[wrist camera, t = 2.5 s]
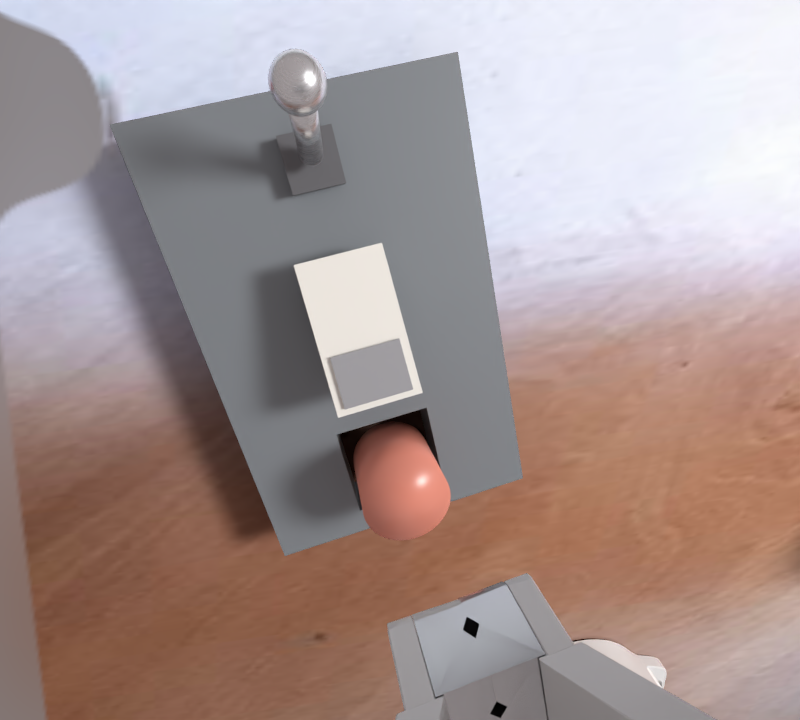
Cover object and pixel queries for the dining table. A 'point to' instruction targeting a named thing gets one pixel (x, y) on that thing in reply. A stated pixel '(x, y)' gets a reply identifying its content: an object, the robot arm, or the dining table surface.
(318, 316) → the block
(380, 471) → the push button
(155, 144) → the panel
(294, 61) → the toggle lever
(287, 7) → the dining table surface
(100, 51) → the dining table surface
